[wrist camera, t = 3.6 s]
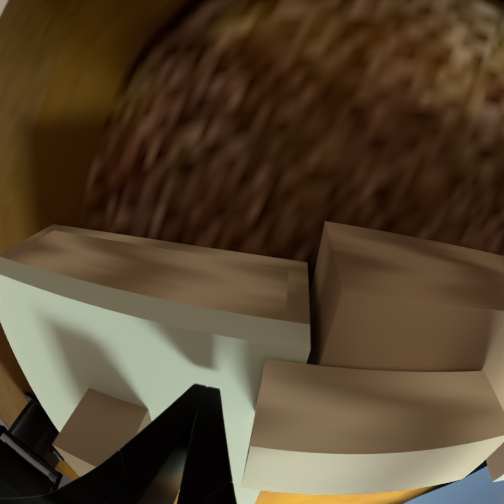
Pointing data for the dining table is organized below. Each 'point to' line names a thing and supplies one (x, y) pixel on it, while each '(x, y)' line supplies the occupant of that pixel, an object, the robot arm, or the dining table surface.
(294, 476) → the beige rectangular block
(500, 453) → the white cube block
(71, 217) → the dining table surface
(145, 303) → the lid
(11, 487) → the robot arm
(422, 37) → the dining table surface
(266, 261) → the beige rectangular tray
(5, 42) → the dining table surface
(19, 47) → the dining table surface
